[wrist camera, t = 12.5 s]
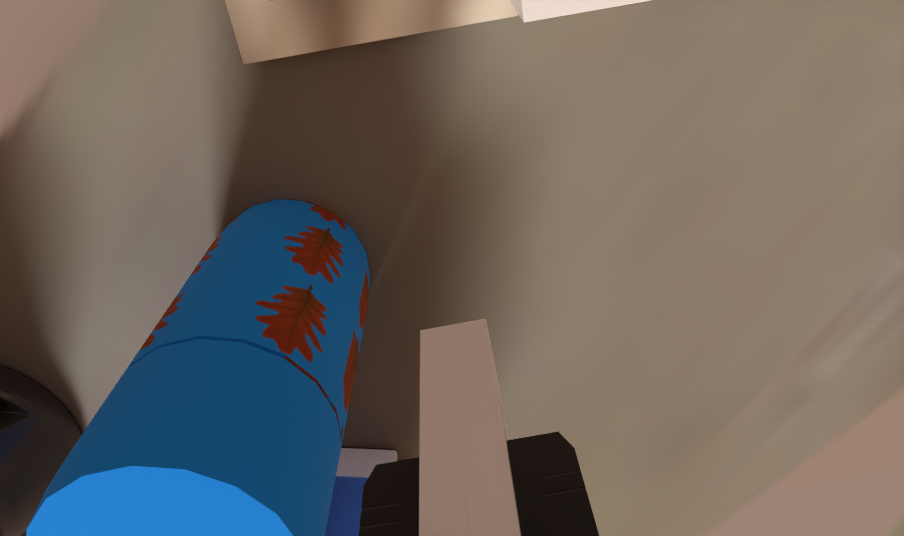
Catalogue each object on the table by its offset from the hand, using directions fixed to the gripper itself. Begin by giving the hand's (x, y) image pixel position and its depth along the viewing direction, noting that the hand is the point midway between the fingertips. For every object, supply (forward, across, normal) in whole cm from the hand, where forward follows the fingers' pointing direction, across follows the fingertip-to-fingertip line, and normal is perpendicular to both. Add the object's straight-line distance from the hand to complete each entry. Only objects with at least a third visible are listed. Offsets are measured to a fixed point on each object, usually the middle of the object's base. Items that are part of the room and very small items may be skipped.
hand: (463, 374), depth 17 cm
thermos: (+31, -12, -10) cm, 35 cm away
